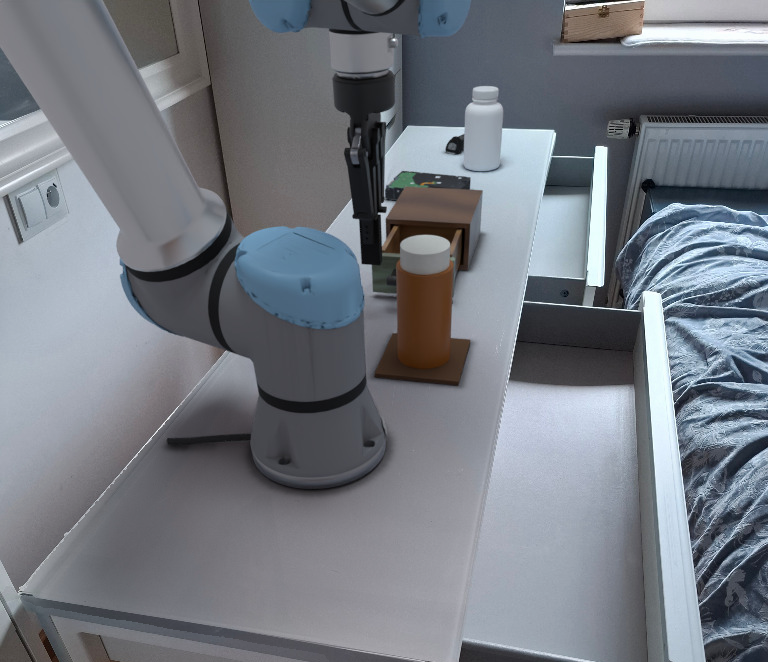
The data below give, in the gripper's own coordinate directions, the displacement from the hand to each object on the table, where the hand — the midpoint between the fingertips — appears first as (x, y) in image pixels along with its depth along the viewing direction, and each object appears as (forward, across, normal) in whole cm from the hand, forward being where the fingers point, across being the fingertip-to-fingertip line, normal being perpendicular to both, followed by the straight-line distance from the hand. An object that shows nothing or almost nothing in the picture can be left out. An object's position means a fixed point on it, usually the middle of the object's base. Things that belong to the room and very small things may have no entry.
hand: (372, 262), depth 101 cm
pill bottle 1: (+7, -12, -10) cm, 17 cm away
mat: (+8, -12, -10) cm, 17 cm away
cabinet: (+8, +25, -5) cm, 26 cm away
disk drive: (+8, +51, +1) cm, 52 cm away
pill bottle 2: (+9, +71, -7) cm, 72 cm away
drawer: (+7, +10, -5) cm, 13 cm away
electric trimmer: (+9, +86, -2) cm, 87 cm away
